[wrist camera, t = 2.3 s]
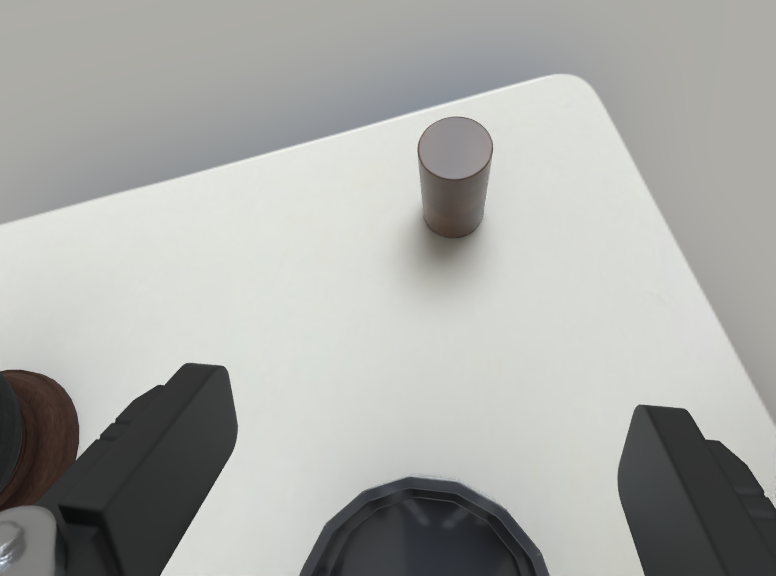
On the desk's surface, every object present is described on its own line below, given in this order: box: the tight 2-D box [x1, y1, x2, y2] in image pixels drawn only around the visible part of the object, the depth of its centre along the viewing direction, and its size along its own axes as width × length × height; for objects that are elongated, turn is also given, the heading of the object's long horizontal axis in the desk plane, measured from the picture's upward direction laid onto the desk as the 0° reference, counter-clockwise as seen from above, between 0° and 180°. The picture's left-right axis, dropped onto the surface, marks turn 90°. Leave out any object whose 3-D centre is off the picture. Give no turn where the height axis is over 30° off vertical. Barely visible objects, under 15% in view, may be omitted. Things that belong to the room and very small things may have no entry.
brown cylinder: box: [418, 117, 493, 238], centre depth 32 cm, size 4×4×8 cm
